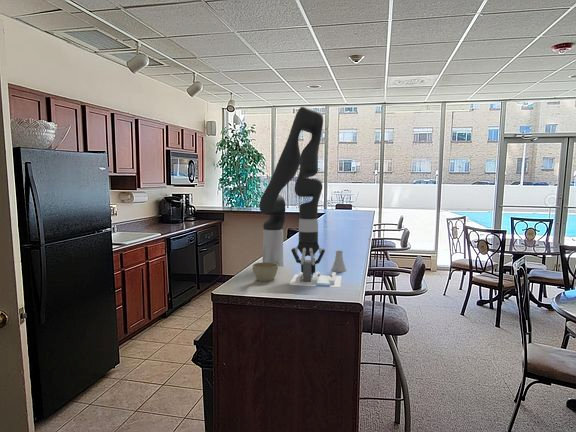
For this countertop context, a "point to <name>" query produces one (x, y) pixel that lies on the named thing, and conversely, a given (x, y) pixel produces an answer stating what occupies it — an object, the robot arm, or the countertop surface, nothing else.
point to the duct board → (317, 280)
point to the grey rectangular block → (307, 270)
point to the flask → (339, 262)
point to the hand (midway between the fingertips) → (308, 273)
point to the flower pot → (265, 271)
